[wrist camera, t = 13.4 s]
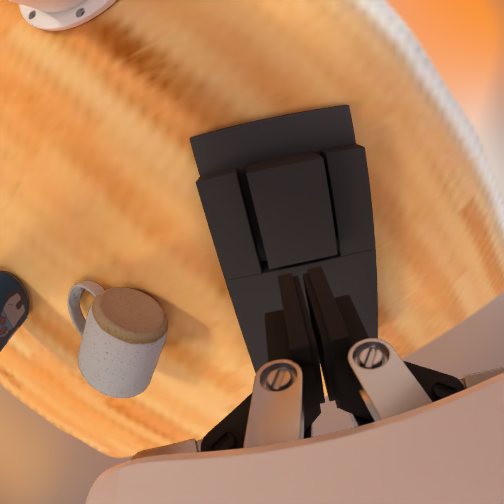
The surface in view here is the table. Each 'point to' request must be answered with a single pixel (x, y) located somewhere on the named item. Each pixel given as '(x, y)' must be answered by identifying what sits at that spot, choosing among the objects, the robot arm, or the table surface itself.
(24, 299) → the soda can
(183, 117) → the table surface
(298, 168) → the loose pad
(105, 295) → the ceramic mug
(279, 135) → the pad base
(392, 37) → the table surface
